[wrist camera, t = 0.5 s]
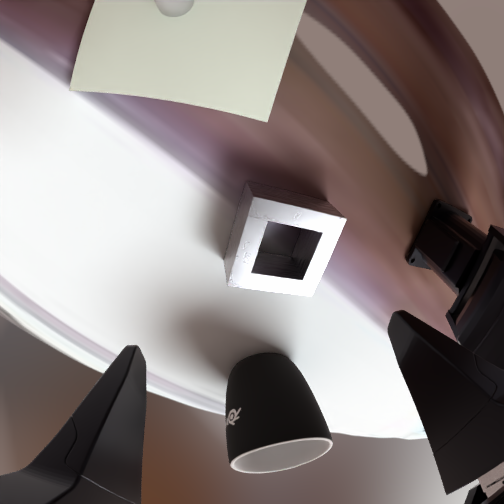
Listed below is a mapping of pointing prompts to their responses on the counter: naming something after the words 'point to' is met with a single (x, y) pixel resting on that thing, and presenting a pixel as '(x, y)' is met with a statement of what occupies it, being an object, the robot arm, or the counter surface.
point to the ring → (272, 265)
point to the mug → (272, 416)
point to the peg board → (189, 51)
